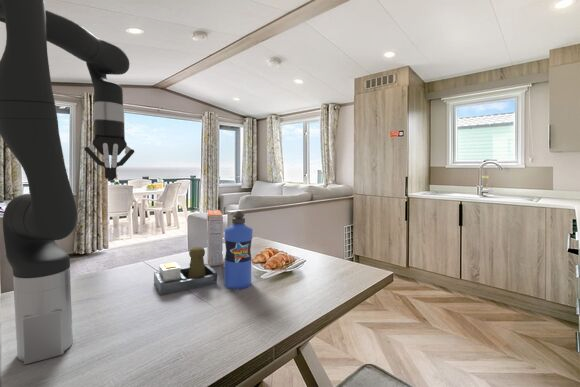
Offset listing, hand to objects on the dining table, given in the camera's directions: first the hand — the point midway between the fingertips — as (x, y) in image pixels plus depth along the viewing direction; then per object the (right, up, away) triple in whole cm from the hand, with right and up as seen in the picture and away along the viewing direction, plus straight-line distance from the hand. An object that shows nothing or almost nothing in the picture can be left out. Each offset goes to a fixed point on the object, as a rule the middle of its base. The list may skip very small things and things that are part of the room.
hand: (110, 180), depth 87 cm
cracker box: (+20, -33, +39) cm, 55 cm away
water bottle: (+34, -35, +15) cm, 51 cm away
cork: (+20, -34, +16) cm, 42 cm away
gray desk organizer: (+17, -34, +14) cm, 41 cm away
